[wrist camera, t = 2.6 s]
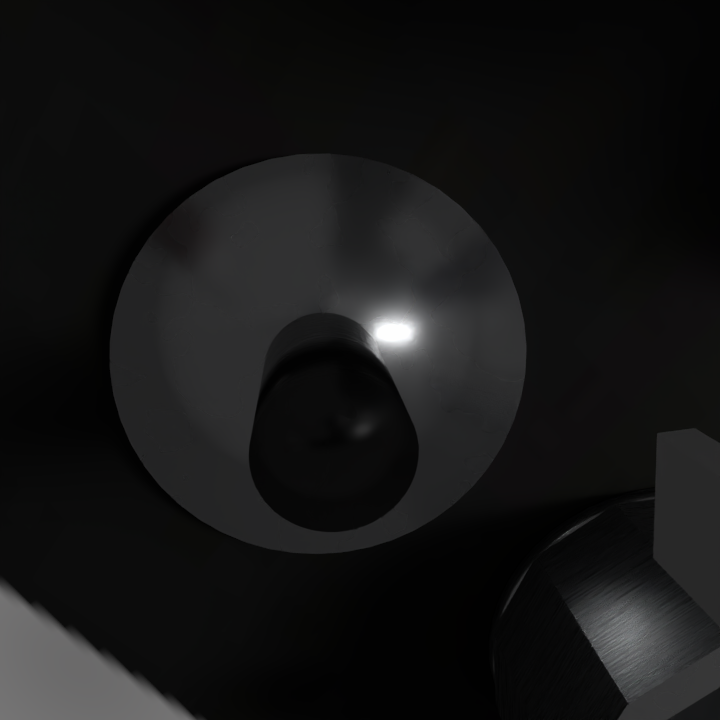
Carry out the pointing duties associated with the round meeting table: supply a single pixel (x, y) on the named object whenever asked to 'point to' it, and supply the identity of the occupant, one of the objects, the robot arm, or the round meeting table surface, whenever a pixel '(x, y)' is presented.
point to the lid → (317, 353)
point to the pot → (602, 627)
